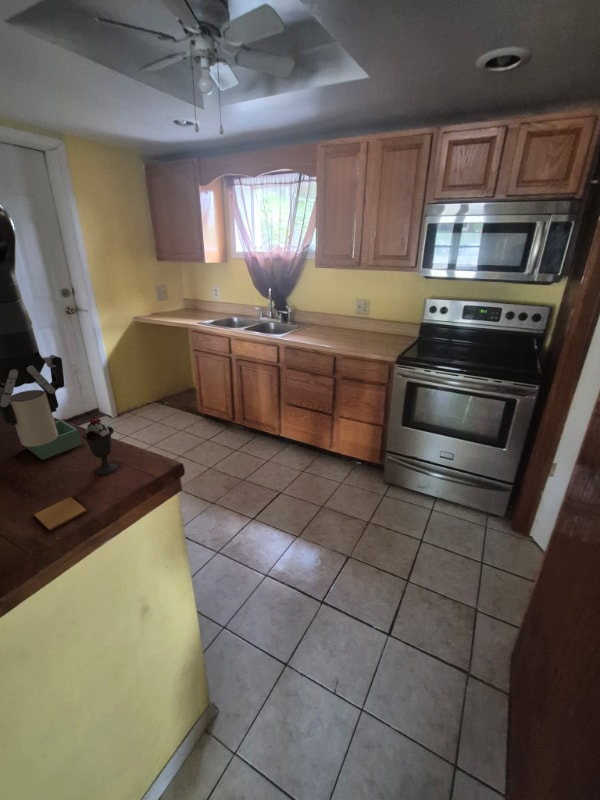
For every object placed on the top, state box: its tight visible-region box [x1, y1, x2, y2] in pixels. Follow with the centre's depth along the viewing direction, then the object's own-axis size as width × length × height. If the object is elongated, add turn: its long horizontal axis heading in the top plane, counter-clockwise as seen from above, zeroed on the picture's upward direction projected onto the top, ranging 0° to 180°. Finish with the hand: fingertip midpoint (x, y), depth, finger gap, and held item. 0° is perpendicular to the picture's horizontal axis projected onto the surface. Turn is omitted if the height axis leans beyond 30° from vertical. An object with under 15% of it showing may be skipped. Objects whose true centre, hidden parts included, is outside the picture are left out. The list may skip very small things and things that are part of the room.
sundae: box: [81, 409, 118, 476], centre depth 87 cm, size 7×7×15 cm
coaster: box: [33, 496, 88, 532], centre depth 75 cm, size 7×7×1 cm
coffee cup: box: [9, 389, 58, 448], centre depth 69 cm, size 6×6×9 cm
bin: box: [25, 419, 82, 461], centre depth 98 cm, size 10×10×5 cm
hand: (33, 416), depth 69 cm, fingers closed on coffee cup, 6 cm apart
